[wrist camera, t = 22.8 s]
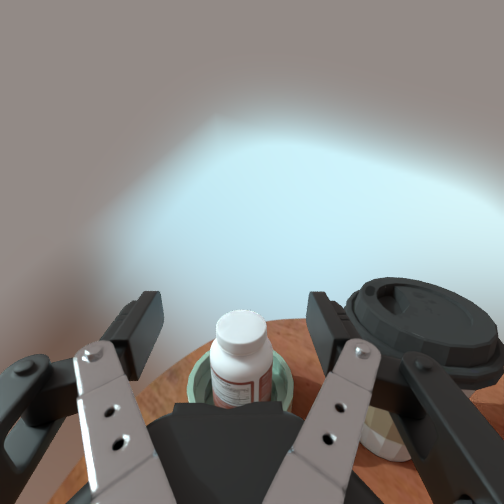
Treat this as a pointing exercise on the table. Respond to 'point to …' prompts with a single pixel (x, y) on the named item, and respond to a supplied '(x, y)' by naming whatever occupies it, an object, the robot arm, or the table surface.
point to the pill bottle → (241, 360)
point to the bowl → (203, 392)
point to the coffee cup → (423, 343)
